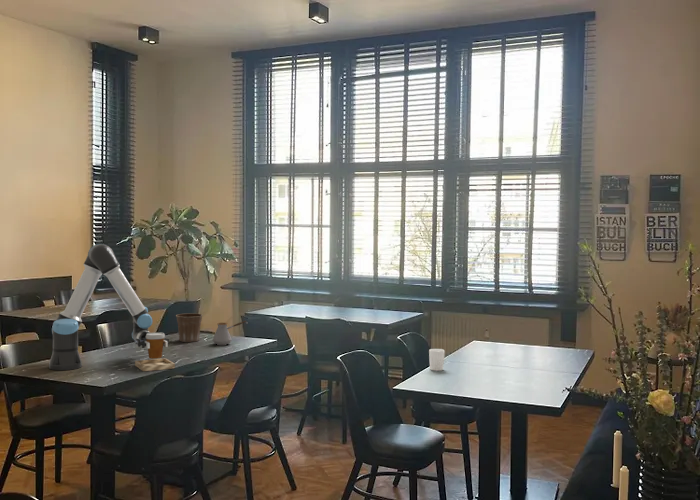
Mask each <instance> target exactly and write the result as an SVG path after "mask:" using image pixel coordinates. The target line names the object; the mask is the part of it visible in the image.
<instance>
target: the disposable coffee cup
mask: <svg viewBox="0 0 700 500" xmlns="http://www.w3.org/2000/svg"><path fill="white" fill-rule="evenodd" d="M164 338H166V334H165V333H164V332H150V333H148V334H146V339H147V342H149V343H150V349H148V348H147V353H148V358H149V359H150V360H152V359H162V357H163V351H164V350H163V349H164V346H163V343H164Z"/></svg>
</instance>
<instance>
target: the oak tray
mask: <svg viewBox="0 0 700 500" xmlns="http://www.w3.org/2000/svg"><path fill="white" fill-rule="evenodd" d="M134 366H135V367H136V368H138V369H139V370H140V371H142V372H149V371H150V372H151V371H160V370H161V371H162V370H171V369H175V367H176V364H175V362H173V361H171V360H170V359H167V357H166V358H165V357H164V358H157V359H145V360H144V359H142V360H135V361H134Z"/></svg>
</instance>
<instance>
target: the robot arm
mask: <svg viewBox="0 0 700 500" xmlns="http://www.w3.org/2000/svg"><path fill="white" fill-rule="evenodd" d="M120 265H121V264H120V263H119V261H118V259H117V257H116V255H115V252H114V250H113V249H112V248H111V247H110V246H109V245H107V244H104V243H97V244H94V245H93V246H91V247H90V249H89V250H88V252H87V256H86V259H85V260H84V263H83V267H84V270H83V271H82V273H81V276H80V278H79V279H78V282H77V284H76V286H75V288H74V290H73V292H72V294H71V296H70V297H69V298H70V299H69V301H68V303H67V304H66V306H65V309H64V310H63V311H61V312H59V314H58V316H57V318H56V320H54V321H53V323H52V327H51V334H52V354H51V357H50V359H49V363H48V369H49V370H53V371H70V370H75V369H79V368H81V367H83V361H82V359H81V356H80V352H79V328H80V327H81V325H82V322H83V320H82V318H81V317H82V315H83V313H84V311H85V309H86V307H87V305H88V302H89V300H90V299H91V297H92V295H93V292H94V290H95V288H96V286H97V284H98V282H99V279H100V277H101V275H103V276H105V277H106V278H107V279H108V281H109V283H110V284H111V286H112V287H113V289H114V290H115V292H116V293H117V294H118V296H119V298H120V299H121V301H122V303H123V304H124V305H125V308H127V310H128V312H129V313H130V314H131V316H132V319H133V330H132V332H131V338H132V340H133V341H134V342H135V345H137V347H139V348H140V347H141V348H142V349H145V348H146V349H147V350H148V349H150V343H149V342H147V339H146V334H148V333H151V332H150V331H149V328H150V327H151V326H152V325H153V318H152V315H150V314H149V308H148V307H147V306H145V305H144V304H143V302H142V301H141V300H140V298H139V296H138V295H137V293H136V291H135V290H134V289H133V287H132V285H131V284H130V282H129V281H128V279H127V278H126V276H125V274H124V272H123V271H122V270H121V268H120V267H121V266H120ZM169 344H170V339H169V338H166V337H165V338H164V343H163V347H165V348H168V345H169Z"/></svg>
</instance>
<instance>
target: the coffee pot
mask: <svg viewBox="0 0 700 500" xmlns="http://www.w3.org/2000/svg"><path fill="white" fill-rule="evenodd" d="M244 323H245V324H248V321H247V320H244V321H241V322H237V323H235V324H233V325H231V326H228V325H229V324H228V322H216V325H217V328H216V331H215V332H214V336H213V338H212V343H213V344H215V345H216V344H217V345H216V346H226V345H225V344H228V345H230V344H231V342H232V340H233V339H232V337H231V334H230V332H229V329H232V328H234V327H237V326H240V325H242V324H244Z"/></svg>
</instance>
